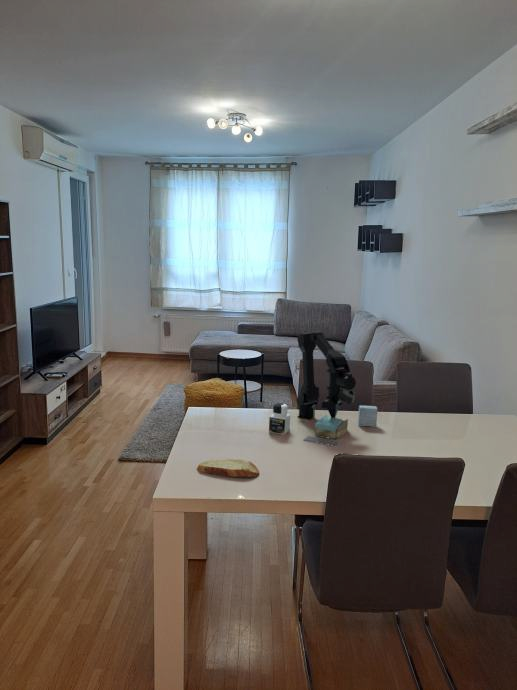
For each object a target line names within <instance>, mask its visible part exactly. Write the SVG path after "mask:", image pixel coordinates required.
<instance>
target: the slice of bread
mask: <svg viewBox="0 0 517 690" xmlns="http://www.w3.org/2000/svg"><path fill="white" fill-rule="evenodd" d="M196 471H197V472H199V473H202V474H206V475H212V476H213V475H214V476H219V477H226V478H240V479H242V478H245V479H247V478H248V479H249V478H250V479H251V478H256V477H259V476H260V471H259V469H258V467H257V466H256V465H255V464H254V463H253V462H251V461H249V460H243V459H233V458H231V459H230V458H229V459H228V458H227V459H216V460H214V459H213V460H208V461H204V462H201V463H200V464H198V465H197V468H196Z"/></svg>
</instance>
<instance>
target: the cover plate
mask: <svg viewBox="0 0 517 690" xmlns="http://www.w3.org/2000/svg"><path fill="white" fill-rule="evenodd" d="M325 416H326V415H324V416H322V417H321V418H320V419H319V420H318V421H317V422H315V424H314V425H315V426H314V428H319V429H324V430H330V431H335V430H336V429H337V428H338V427H339V426H340V425H341V424H342V418H338V417H335V418H331V416H327V417H325ZM337 418H338V419H337Z"/></svg>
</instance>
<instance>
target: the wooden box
mask: <svg viewBox="0 0 517 690" xmlns="http://www.w3.org/2000/svg"><path fill="white" fill-rule="evenodd" d="M324 416H325V417H328V415H324ZM336 418H337V419H339V418H338V417H336ZM341 419H342V418H341ZM348 422H349V419H348V418H346V419H344V418H343V419H342V424H341V425H340V426H339V427H338V428H337V429H336V430H335V431H330V430H324V429H319V428H315V427H314V428H315V429H314V436H315V435H318V436H317V437H320V436H323V437H322V438H326V437H329V438H328V439H331V438H333V439H332V440H336V439H338V440H339V439H340V438H341V437H342V436H343V435H344V434H345V433H346V432H347V431H348Z"/></svg>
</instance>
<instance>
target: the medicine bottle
mask: <svg viewBox="0 0 517 690" xmlns="http://www.w3.org/2000/svg"><path fill="white" fill-rule="evenodd" d="M288 409H289V408H288V405H287V404H285V403H283V402H282V403H281V402H280V403H279V402H278V403H274V404H273V408H272V414H271V415H270V416H269V419H268V420H269V421H268V433H271V434H277V435H286V434H287V433H288V432H289V431H290V430H291V429H290V427H291V414H289V413H288Z"/></svg>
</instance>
